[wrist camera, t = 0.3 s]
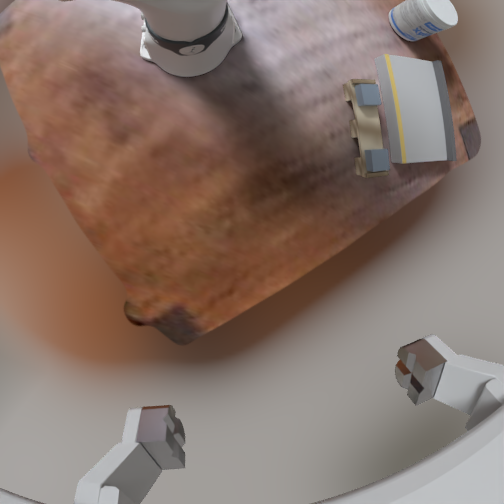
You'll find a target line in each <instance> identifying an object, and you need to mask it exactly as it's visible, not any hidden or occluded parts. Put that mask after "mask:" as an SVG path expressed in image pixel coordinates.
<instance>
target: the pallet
mask: <svg viewBox="0 0 504 504" xmlns="http://www.w3.org/2000/svg"><path fill="white" fill-rule="evenodd" d="M359 84H376V82H375V80H367V79H352V80H350V81H348V83H346V84H344V85H343V89H344V94H345V99H346V101H352V104H353V110H354V116H355V120H350V121H349V123H350V129H351V136H352V138H355V137H358V143H359V150H360V157H354V159H355V167H356V175H361V176H362V177H365V178H371V177H379V176H387V175H389V173H388V171H386V170H384V171H375V172H372V171H367V168H366V159H365V151H364V150H370V149H383V142H382V134H381V127H380V121H379V114H378V108H377V106H358V104H357V98H356V93H355V88H354V86H356V85H359Z"/></svg>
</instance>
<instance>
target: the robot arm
mask: <svg viewBox="0 0 504 504" xmlns="http://www.w3.org/2000/svg"><path fill="white" fill-rule="evenodd" d="M60 1H71V0H60ZM113 1H118V2H122V3H125V4H129V5H131V6H134V7H136V8H138V9H140V10H141V18H142V20H144V25H142V39H141V47H140V55H141V57H142V58H143V59H145V60H148V61H152V62H154V63H156V64H157V65H158V66H159V67H161V68H162V69H163V70H164V71H166V72H168V73H170V74H173V75H176V76H182V77H192V76H198V75H202V74H204V73H207V72H209V71H211V70H213V69H214V68H216V67H217V66H218V65H219V64H220V63H221V62H222V61H223V60H224V59H225V57H226V55H227V54H228V52H229V50H230V49H231V47H233V46H234V45H235V44H237V43H238V42H239V41H240V40H241V39H242V33H241V31H240V28H239V26H238V24H237V22H236V20H235V18H234V16H233V14H232V12H231V10H230V8H229V5H228V3H227V0H113ZM145 47H146V49H145ZM397 356H398V357H399V359H400V360H399V361H398V362H397V364H396V367H395V375H396V379H397V381H398V383H399V384H400V386H401V387H403V388H406V389H408V392H407V395H408V396H409V398H410V399H411V400H412V402H413V403H414V404H415V405H419V404H421V403H423V402H425V401H427V400H429V399H431V398H433V397H434V399H436V400H438V401H441V402H443V403H445V404H447V405H449V406H451V407H454V408H456V409H458V410H460V411H463V412H465V413H467V414H469V415H470V418H469V419H468V421H467V423H466V426H465V428H466V429H467V431H468V432H466V433H465V434H463V435H462V436H460V437H459V438H457V439H455V440H454V441H452V442H451V443H449V444H448V445H446V446H444V447H443V448H441V449H439V450H438V451H436V452H434V453H432V454H431V455H429V456H427V457H425V458H424V459H422V460H420V461H418V462H416V463H414V464H412V465H410V466H408V467H406V468H404V469H402V470H400V471H398V472H396V473H394V474H392V475H389V476H387V477H385V478H382V479H380V480H378V481H375V482H373V483H371V484H368V485H366V486H363V487H360V488H358V489H355V490H352V491H350V492H347V493H344V494H341V495H338V496H335V497H332V498H328V499H325V500H322V501H318V502H315V503H311V504H504V365H501V364H497V363H493V362H489V361H484V360H481V359H477V358H473V357H468V356H465V355H461V354H460V355H459V356H458V355H457V354H455V353H454V352H453V351H452V350H451V349H450V348H449V347H448V346H447V345H446V344H445V343H444V342H442V341H441V340H440V339H439V338H438V337H437V336H436V335H434V334H430V335H428V336H426V337H424V338H422V339H419V340H417V341H415V342H412V343H410V344H407V345H405V346H403V347H400V349H399V350H398V355H397ZM184 444H185V433H184V428H183V425H182V423H181V421H180V419H178V418H176V417H175V410H174V408H173V406H171V405H164V406H151V407H150V406H149V407H134V408H130V409H129V410H128V414H127V418H126V422H125V427H124V432H123V437H122V442H121V443H117V444H116V445H115V446H114V447H113V448H112V449H111V450H110V451H109V452H108V453H107V454H106V455H105V456H104V457H103V458H102V459H101V460H100V461H99V462H98V463H97V464H96V465H95V466H94V467H93V468H92V469H91V470H90V471H89V472H88V473H87V474H86V475H85V476H84V477H83V478H82V479H81V480H80V481H79V482H78V486H77V490H76V495H75V500H74V504H140V503H141V502H142V500H143V499H144V497H145V496H146V495H147V493H148V492H149V490H150V489H151V487H152V486H153V484H154V483H155V481H156V479H157V478H158V477H159V475H160V474H161V472H162V470H165V469H166V470H167V469H179V468H185V452H184V451H183V449H182V446H183V445H184ZM0 504H44V503H41V502H38V501H35V500H32V499H28V498H25V497H23V496H19V495H17V494H14V493H12V492H9V491H7V490H4V489H1V488H0Z"/></svg>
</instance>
